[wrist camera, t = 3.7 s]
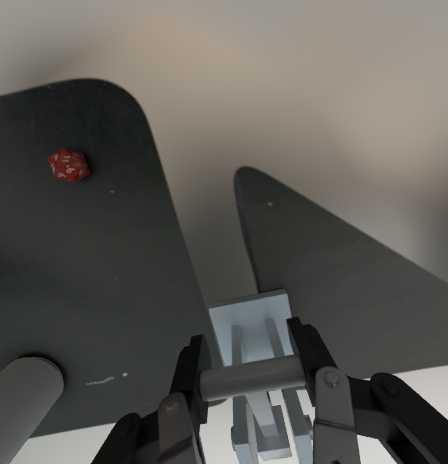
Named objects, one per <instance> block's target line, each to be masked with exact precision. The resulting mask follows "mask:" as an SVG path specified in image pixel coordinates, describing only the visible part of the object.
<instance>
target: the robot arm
mask: <svg viewBox="0 0 448 464" xmlns="http://www.w3.org/2000/svg"><path fill="white" fill-rule="evenodd" d="M286 324H287V329H288V334H289V339H290V344H291V347H292V351H293V353H294V354H298V355H299V357H300V359H301V362H302V365H303V369H304V372H305V376H306V381H307V385H305V387H306V390H307V392H308V395H309V398H310V401H311V404H312V406H313V407H315V420H314V422H313V464H361V462H360V455H359V448H358V441H357V435H361V436H366V437H371V438H375V439H378V440H379V441H380V442H381V444H382V445H383V446H384V448H385V449H386V450H387V451H388V453H389V454H390V455H391V457H392V458H393V459H394V460H395V461H396V463H397V464H448V420H447V419H446V418H445V417H444V416H443V415H442V414H440V413H439V412H438V411H437V410H436V409H435V408H434V407H432V406H431V405H430V404H429V403H428V402H427V401H426V400H424V399H423V398H422V397H421V396H420V395H419V394H418V393H416V392H415V391H414V390H413V389H412V388H411V387H410V386H408V385H407V384H406V383H405V382H404V381H403V380H401V379H400V378H398V377H397V376H395V375H392V374H389V373H376V374H374V375H373V376H372V377H371V379H370V381H369V380H361V379H355V378H352V377H349V376H347V375H345V374H344V372H342V371H341V370H340V369H339V368H338V367H337V366H336V364H335V362H334V360H333V358H332V357H331V355H330V353H329V351H328V349H327V348H326V346H325V344H324V342H323V340H322V339H321V337H320V335H319V333H318V331H317V330H316V329H315V328H314V327H313V326H311V325H310V324H307V325H302V324H301V322H300V319H299V317H293V318H288V319H286ZM206 369H211V355H210V351H209V348H208V345H207V342H206V338H205V336H204V334H202V335H197V336H192V337H191V341H190V346H187V347H184V348H183V350H182V351H181V353H180V354H179V358H178V362H177V366H176V370H175V373H174V377H173V381H172V385H171V389H170V392H169V395H168V396H166V397H165V398H164V399H163V400H162V402H161V403H160V405H159V408H158V410H157V411H155V412H153V413H151V414H149V415H147V416H145V417H143V418H140V416H139V415H138V414H137V413H130V414H127V415H125V416H124V417H122V418H121V419H120V420H119V421H118V422H117V423H116V424H115V426H114V427H113V429H112V430H111V432H110V434H109V435H108V437H107V439H106V440H105V442H104V444H103V445H102V447H101V448H100V450H99V452H98V453H97V455H96V456H95V458H94V460H93V461H92V463H91V464H206V461H205V456H204V452H203V448H202V443H201V439H200V436H199V431H200V424H205V423H207V414H208V402H209V401H206V402H204V401H203V400H202V397H201V393H200V373H201V371H202V370H206Z"/></svg>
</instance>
